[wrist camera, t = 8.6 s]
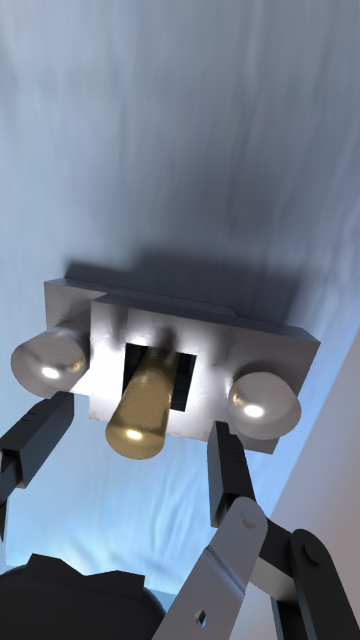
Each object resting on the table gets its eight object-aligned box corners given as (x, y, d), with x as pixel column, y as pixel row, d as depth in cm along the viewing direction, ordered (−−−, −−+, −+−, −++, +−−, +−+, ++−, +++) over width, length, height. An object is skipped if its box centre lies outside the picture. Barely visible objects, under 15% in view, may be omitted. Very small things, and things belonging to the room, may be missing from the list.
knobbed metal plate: (66, 372, 22) (14, 421, 16) (63, 277, 18) (-4, 292, 12) (255, 408, 21) (279, 473, 15) (288, 317, 18) (335, 353, 12)
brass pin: (151, 330, 19) (106, 408, 10) (183, 336, 19) (168, 420, 10) (148, 358, 20) (104, 453, 11) (178, 364, 20) (160, 464, 11)
